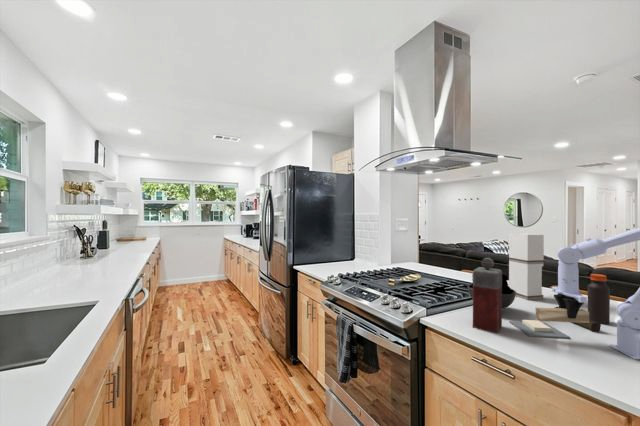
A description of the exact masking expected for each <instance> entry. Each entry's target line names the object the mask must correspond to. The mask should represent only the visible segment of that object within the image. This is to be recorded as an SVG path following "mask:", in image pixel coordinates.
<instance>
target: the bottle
mask: <svg viewBox="0 0 640 426" xmlns="http://www.w3.org/2000/svg"><path fill="white" fill-rule="evenodd" d="M607 277H608V276H607V275H605V274H600V273H591V274H590V281H591V282H590V283H589V284H587V311H588V312H589V320H590V321H593V322H598V323H600V324H602V325H608V324H610V321H611V320H610V318H611V317H610V314H611V313H610V311H611V309H610V307H611V305H610V302H611V298H610V297H611V296H610V294H611V293H610V292H611V291H610V290H611V289H610V287H609V286H608V284H606V283H607V279H608V278H607Z"/></svg>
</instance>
